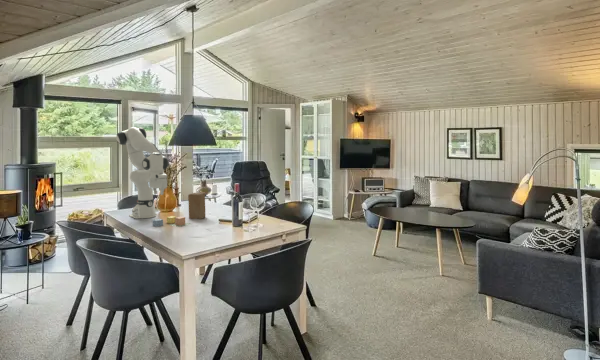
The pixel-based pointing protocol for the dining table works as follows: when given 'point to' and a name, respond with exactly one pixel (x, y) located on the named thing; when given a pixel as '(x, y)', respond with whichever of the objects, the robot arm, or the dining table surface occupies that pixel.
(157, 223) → the brick slate
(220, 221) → the dining table surface
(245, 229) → the dining table surface
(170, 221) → the brick mustard
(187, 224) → the build plate
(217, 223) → the dining table surface
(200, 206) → the block
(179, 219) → the brick terracotta
